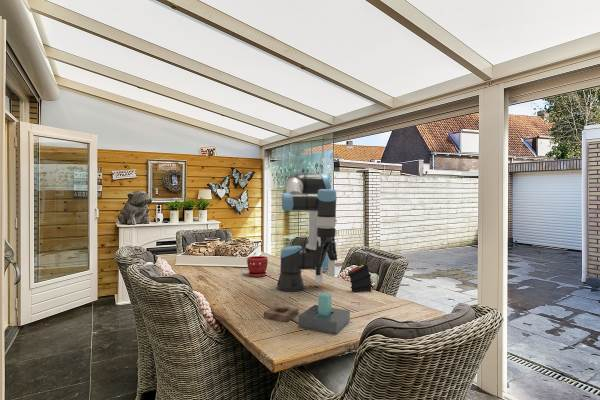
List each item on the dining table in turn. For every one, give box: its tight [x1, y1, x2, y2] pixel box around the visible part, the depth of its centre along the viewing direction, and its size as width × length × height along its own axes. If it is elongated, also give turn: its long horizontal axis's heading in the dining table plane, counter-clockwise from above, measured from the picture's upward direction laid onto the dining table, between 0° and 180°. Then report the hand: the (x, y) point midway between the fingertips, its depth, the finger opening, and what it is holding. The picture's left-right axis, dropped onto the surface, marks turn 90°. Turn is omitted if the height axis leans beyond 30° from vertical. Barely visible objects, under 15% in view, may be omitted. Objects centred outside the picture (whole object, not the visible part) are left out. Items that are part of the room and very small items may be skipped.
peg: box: [317, 292, 332, 316], centre depth 146 cm, size 4×4×12 cm
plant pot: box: [246, 255, 269, 278], centre depth 231 cm, size 13×13×12 cm
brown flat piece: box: [263, 304, 300, 323], centre depth 155 cm, size 11×11×2 cm
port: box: [297, 304, 351, 335], centre depth 146 cm, size 16×16×4 cm
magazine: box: [347, 263, 373, 293], centre depth 198 cm, size 4×13×15 cm, turn 107°
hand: (325, 279), depth 146 cm, fingers open, 13 cm apart
